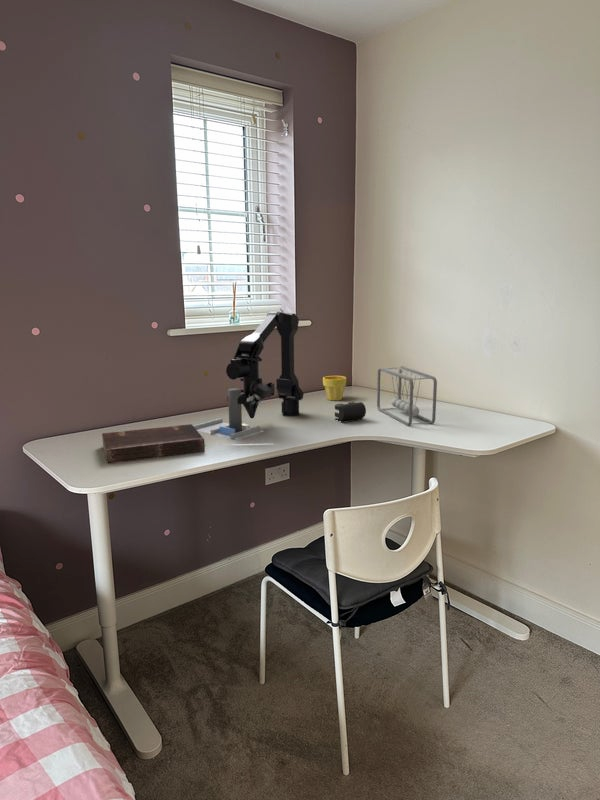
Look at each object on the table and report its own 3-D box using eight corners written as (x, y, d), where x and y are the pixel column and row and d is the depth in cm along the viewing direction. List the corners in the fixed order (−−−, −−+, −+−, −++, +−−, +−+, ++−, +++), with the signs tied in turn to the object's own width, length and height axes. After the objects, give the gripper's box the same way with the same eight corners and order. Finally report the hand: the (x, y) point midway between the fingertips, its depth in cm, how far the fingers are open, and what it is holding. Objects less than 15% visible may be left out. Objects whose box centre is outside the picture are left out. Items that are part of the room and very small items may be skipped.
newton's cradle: (435, 425, 209) (437, 377, 205) (409, 427, 206) (411, 378, 202) (399, 407, 237) (401, 365, 233) (376, 409, 234) (377, 366, 231)
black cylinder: (344, 424, 211) (344, 406, 210) (333, 420, 217) (333, 403, 216) (366, 420, 216) (366, 403, 215) (355, 417, 222) (355, 400, 221)
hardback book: (107, 465, 168) (106, 449, 167) (103, 448, 185) (102, 433, 184) (204, 453, 179) (204, 438, 178) (192, 438, 196) (191, 424, 195)
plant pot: (318, 399, 254) (318, 377, 252) (332, 395, 262) (332, 374, 260) (336, 402, 248) (337, 380, 245) (350, 398, 255) (350, 377, 253)
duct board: (264, 432, 200) (264, 424, 200) (236, 441, 190) (236, 432, 189) (217, 422, 215) (216, 414, 214) (188, 430, 204) (188, 422, 204)
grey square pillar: (240, 429, 202) (239, 388, 198) (243, 432, 198) (241, 390, 194) (228, 430, 201) (227, 388, 197) (230, 434, 197) (229, 391, 193)
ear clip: (250, 428, 202) (250, 425, 202) (246, 430, 201) (246, 426, 200) (242, 427, 205) (242, 423, 204) (238, 428, 203) (238, 424, 203)
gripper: (249, 381, 190) (250, 427, 193) (285, 373, 204) (285, 416, 207) (225, 378, 197) (227, 422, 200) (262, 370, 211) (263, 412, 214)
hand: (252, 418), depth 205 cm, fingers closed
